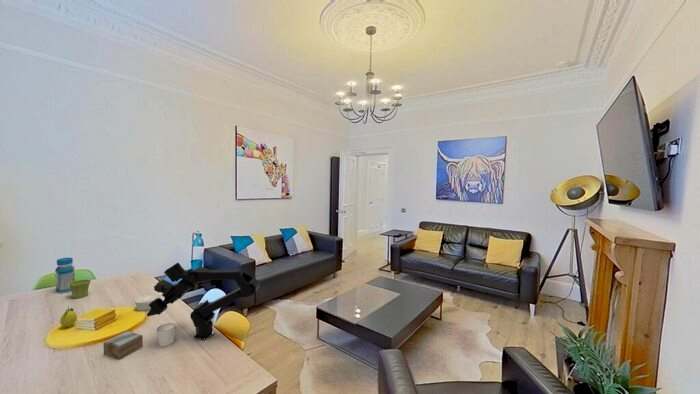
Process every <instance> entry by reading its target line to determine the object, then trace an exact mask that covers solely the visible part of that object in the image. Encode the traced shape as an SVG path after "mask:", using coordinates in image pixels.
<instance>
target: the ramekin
mask: <svg viewBox="0 0 700 394" xmlns="http://www.w3.org/2000/svg"><path fill="white" fill-rule="evenodd" d="M157 298H161V295H160V294H158V293H157V294H156V293H150V294H145V295H141V296H139V297H137V298H136V299H134V304H135V307H136V310H138V311H140V312H145V311H150V309H151V307H150V306H149V304H150V303H151V302H152V301H154V300H155V299H157Z"/></svg>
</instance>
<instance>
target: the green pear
mask: <svg viewBox="0 0 700 394" xmlns="http://www.w3.org/2000/svg"><path fill="white" fill-rule="evenodd" d="M77 320H78V316H77V313H76V312H75V311H74V308H73V307H71V308H70V306H68V305H67V309H65V312H64V313H62V315H61V316H60V320H59V321H60V325H61V326H62V327H69V326H70V327H71V326H72V325H73V324H75V323H76V322H75V321H77Z"/></svg>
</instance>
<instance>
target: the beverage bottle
mask: <svg viewBox="0 0 700 394" xmlns="http://www.w3.org/2000/svg"><path fill="white" fill-rule="evenodd" d="M73 262H74V261H73V257H63V258H62V257H61V258H58V259H56V265H57V267H56V268H55V270H54V272H55V274H54V278H55V292H56V294H65V293H69V292H72V291H71V288H70V286H69V285H68V284H69V283H71V282H73V281H76V280H75V275H76V272H75V266H74V264H73Z"/></svg>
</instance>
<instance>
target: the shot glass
mask: <svg viewBox="0 0 700 394" xmlns="http://www.w3.org/2000/svg"><path fill="white" fill-rule="evenodd" d="M175 333H176V324H175V323H171V322H169V323H164V324H161V325H159V326H158V327H157V328H156V336H157V337H156V338H157V343H158V346H159V347H167V346H170V345H172V344H173V343H174V341H175Z"/></svg>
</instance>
